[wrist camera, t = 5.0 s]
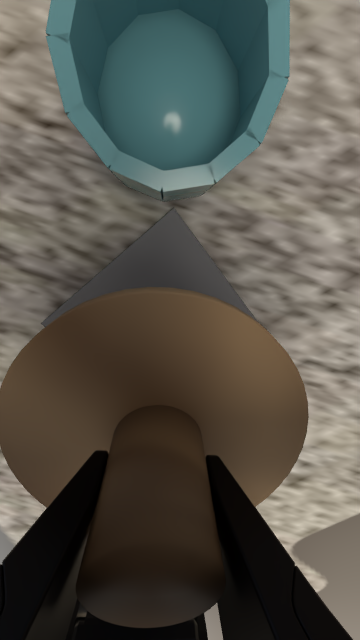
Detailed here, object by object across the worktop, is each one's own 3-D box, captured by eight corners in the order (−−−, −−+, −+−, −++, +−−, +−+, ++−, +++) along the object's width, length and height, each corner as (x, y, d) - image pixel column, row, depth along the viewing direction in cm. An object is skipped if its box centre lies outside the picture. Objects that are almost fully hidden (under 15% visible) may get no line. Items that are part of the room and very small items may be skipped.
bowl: (160, 230, 17) (158, 232, 12) (53, 93, 14) (-4, 25, 9) (278, 129, 15) (329, 85, 10) (183, -50, 12) (194, -220, 8)
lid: (146, 549, 13) (135, 727, 8) (-55, 415, 9) (-261, 593, 5) (344, 433, 11) (475, 586, 6) (179, 209, 7) (199, 187, 3)
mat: (152, 422, 22) (152, 425, 22) (43, 321, 18) (40, 323, 18) (271, 340, 20) (273, 342, 19) (173, 208, 16) (174, 207, 16)
